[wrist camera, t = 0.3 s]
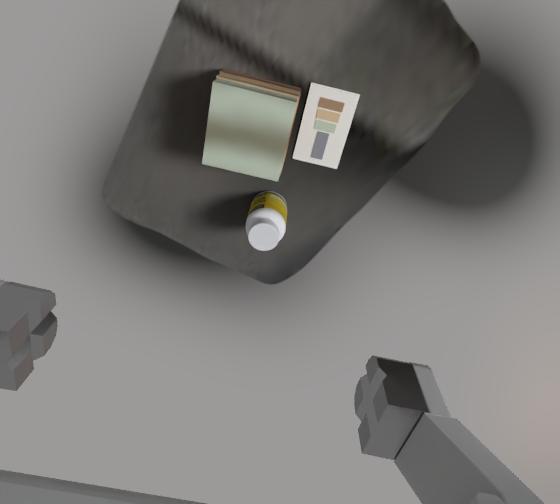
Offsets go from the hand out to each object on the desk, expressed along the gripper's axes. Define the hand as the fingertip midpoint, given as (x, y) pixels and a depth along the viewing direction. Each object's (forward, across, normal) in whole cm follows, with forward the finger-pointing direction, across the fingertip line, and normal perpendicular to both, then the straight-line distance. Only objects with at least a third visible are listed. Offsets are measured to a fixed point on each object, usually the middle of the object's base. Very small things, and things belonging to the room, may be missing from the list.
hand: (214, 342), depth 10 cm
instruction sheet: (+46, -7, +3) cm, 47 cm away
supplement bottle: (+47, -2, +16) cm, 49 cm away
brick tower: (+46, +3, +4) cm, 47 cm away
